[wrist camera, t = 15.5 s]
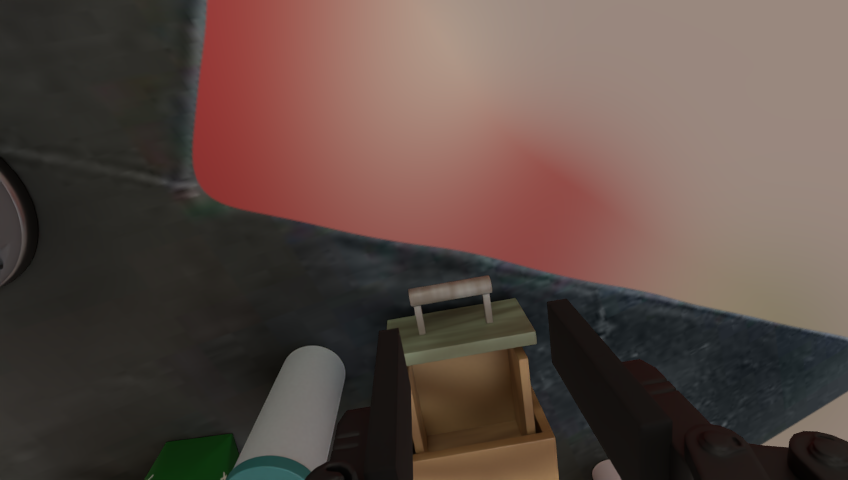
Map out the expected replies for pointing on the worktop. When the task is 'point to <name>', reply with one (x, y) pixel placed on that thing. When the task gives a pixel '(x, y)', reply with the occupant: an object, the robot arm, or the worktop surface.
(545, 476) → the cabinet
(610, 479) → the smoothie
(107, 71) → the worktop surface
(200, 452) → the milk carton
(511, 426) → the drawer
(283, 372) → the container
